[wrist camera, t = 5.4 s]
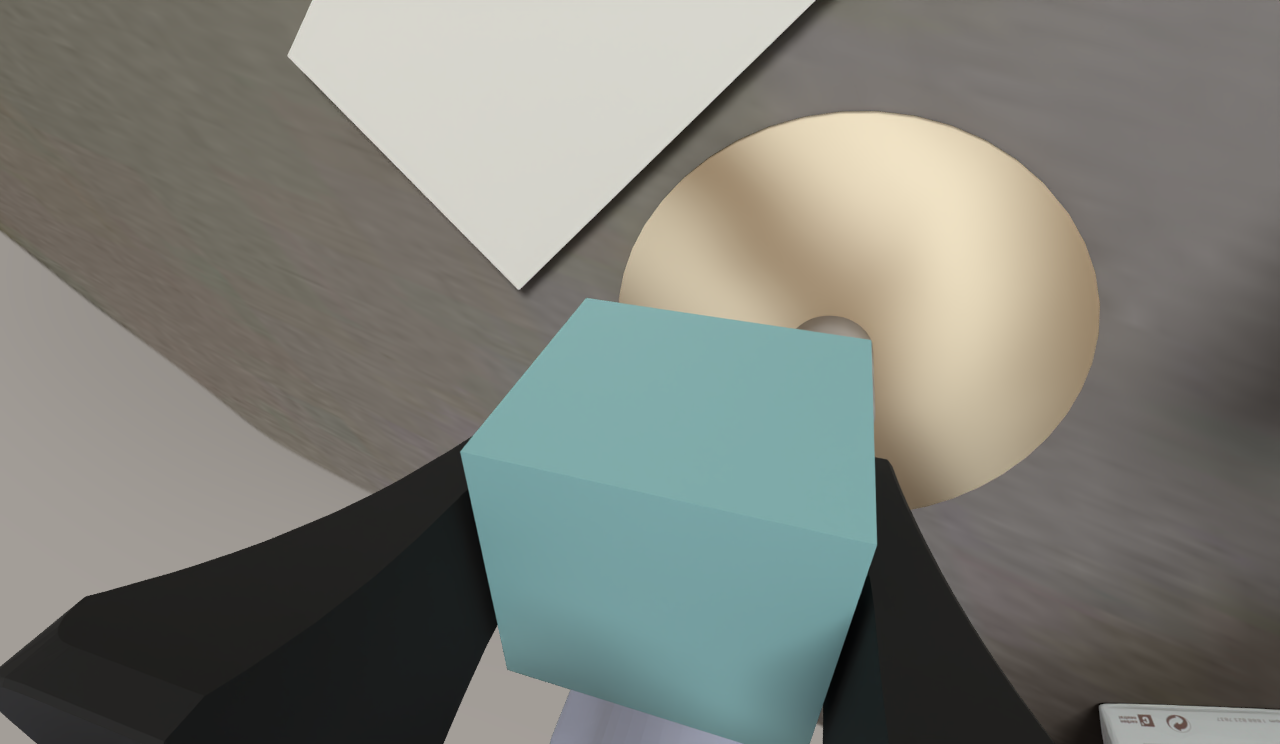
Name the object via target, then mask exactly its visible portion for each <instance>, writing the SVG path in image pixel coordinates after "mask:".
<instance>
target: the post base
mask: <svg viewBox="0 0 1280 744" xmlns="http://www.w3.org/2000/svg"><path fill="white" fill-rule="evenodd" d="M619 303H623V304H630V305H637V306H644V307H651V308H657V309H664V310H671V311H678V312H684V313H691V314H698V315H705V316H712V317H718V318H725V319H732V320H739V321H745V322H752V323H759V324H766V325H773V326H779V327H786V328H793V329H800V330H806V331H813V332H820V333H827V334H834V335H840V336H847V337H854V338H861V339H868V340H871V343H872V379H873V415H874V452H875V457H877V458H882V459H887V460H888V461H889V462H890V464H891V465H892V466H893V469H894V472H895V474H896V477H897V480H898V482H899V485H900V487H901V489H902V492H903V494H904V497H905V499H906V501H907V503H908V506H909V508H910V510H912V509H916V508H921V507H926V506H930V505H933V504H936V503H939V502H943V501H946V500H949V499H952V498H955V497H957V496H960V495H962V494H964V493H967V492H969V491H972V490H974V489H976V488H979V487H981V486H982V485H984V484H986V483H988V482H989V481H991V480H993V479H995V478H997V477H998V476H1000V475H1002V474H1004V473H1005V472H1007V471H1008V470H1009V469H1011V468H1012V467H1013V466H1015V465H1016V464H1018V463H1019V462H1020V461H1022V460H1023V459H1025V458H1026V457H1027V456H1028V455H1029V454H1030V453H1032V452H1033V451H1034V450H1035V449H1036V448H1037V447H1038V446H1039V445H1040V444H1041V443H1042V442H1043V441H1044V440H1045V439H1047V438H1048V437H1049V435H1050V434H1051V433H1052V432H1053V430H1054V429H1055V428H1056V427H1057V426H1058V424H1059V423H1060V422H1061V421H1062V419H1063V418H1064V417H1065V416H1066V415H1067V413H1068V411H1069V410H1070V408H1071V406H1072V405H1073V403H1074V401H1075V399H1076V398H1077V396H1078V394H1079V393H1080V391H1081V389H1082V387H1083V384H1084V382H1085V379H1086V377H1087V374H1088V372H1089V369H1090V367H1091V365H1092V361H1093V357H1094V352H1095V348H1096V343H1097V339H1098V334H1099V309H1100V303H1099V296H1098V289H1097V282H1096V275H1095V271H1094V268H1093V265H1092V262H1091V259H1090V256H1089V253H1088V251H1087V248H1086V245H1085V242H1084V240H1083V239H1082V237H1081V235H1080V233H1079V232H1078V230H1077V228H1076V226H1075V224H1074V223H1073V221H1072V219H1071V217H1070V215H1069V214H1068V213H1067V211H1066V210H1065V209H1064V208H1063V207H1062V205H1061V204H1060V203H1059V202H1058V200H1057V199H1056V198H1055V197H1054V196H1053V194H1052V193H1051V192H1050V191H1049V189H1048V188H1047V187H1046V186H1045V185H1044V184H1043V182H1042V181H1041V180H1039V179H1038V178H1037V177H1036V176H1035V175H1034V174H1032V173H1031V172H1030V171H1029V170H1028V169H1027V168H1026V167H1024V166H1023V165H1022V164H1021V163H1020V162H1019V161H1018V160H1016V159H1015V158H1013V157H1012V156H1010V155H1009V154H1007V153H1005V152H1004V151H1002V150H1001V149H999V148H997V147H996V146H994V145H993V144H991V143H989V142H988V141H986V140H984V139H982V138H980V137H977V136H975V135H973V134H970V133H968V132H966V131H963V130H961V129H959V128H956V127H954V126H952V125H948V124H944V123H941V122H937V121H933V120H929V119H926V118H922V117H918V116H914V115H906V114H898V113H889V112H881V111H840V112H833V113H826V114H819V115H812V116H806V117H801V118H798V119H794V120H790V121H787V122H783V123H780V124H776V125H773V126H769V127H767V128H765V129H762V130H760V131H758V132H755V133H753V134H751V135H748V136H746V137H744V138H741V139H739V140H737V141H735V142H734V143H732V144H730V145H729V146H727V147H725V148H724V149H722V150H720V151H719V152H717V153H715V154H714V155H712V156H710V157H709V158H708V159H706V160H705V161H704V162H703V163H701V164H700V165H699V166H698V167H696V168H695V169H694V170H693V171H691V172H690V173H689V174H688V175H686V176H685V177H684V178H683V179H682V180H681V181H680V183H679V184H678V185H677V186H676V187H675V188H674V189H673V190H672V191H671V192H670V193H669V194H668V195H667V196H666V197H665V198H664V200H663V201H662V202H661V203H660V205H659V206H658V207H657V209H656V210H655V212H654V213H653V214H652V216H651V217H650V219H649V220H648V221H647V223H646V224H645V226H644V228H643V229H642V231H641V233H640V235H639V237H638V239H637V241H636V243H635V245H634V247H633V249H632V251H631V254H630V257H629V260H628V263H627V266H626V269H625V271H624V275H623V280H622V285H621V291H620V296H619Z"/></svg>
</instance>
